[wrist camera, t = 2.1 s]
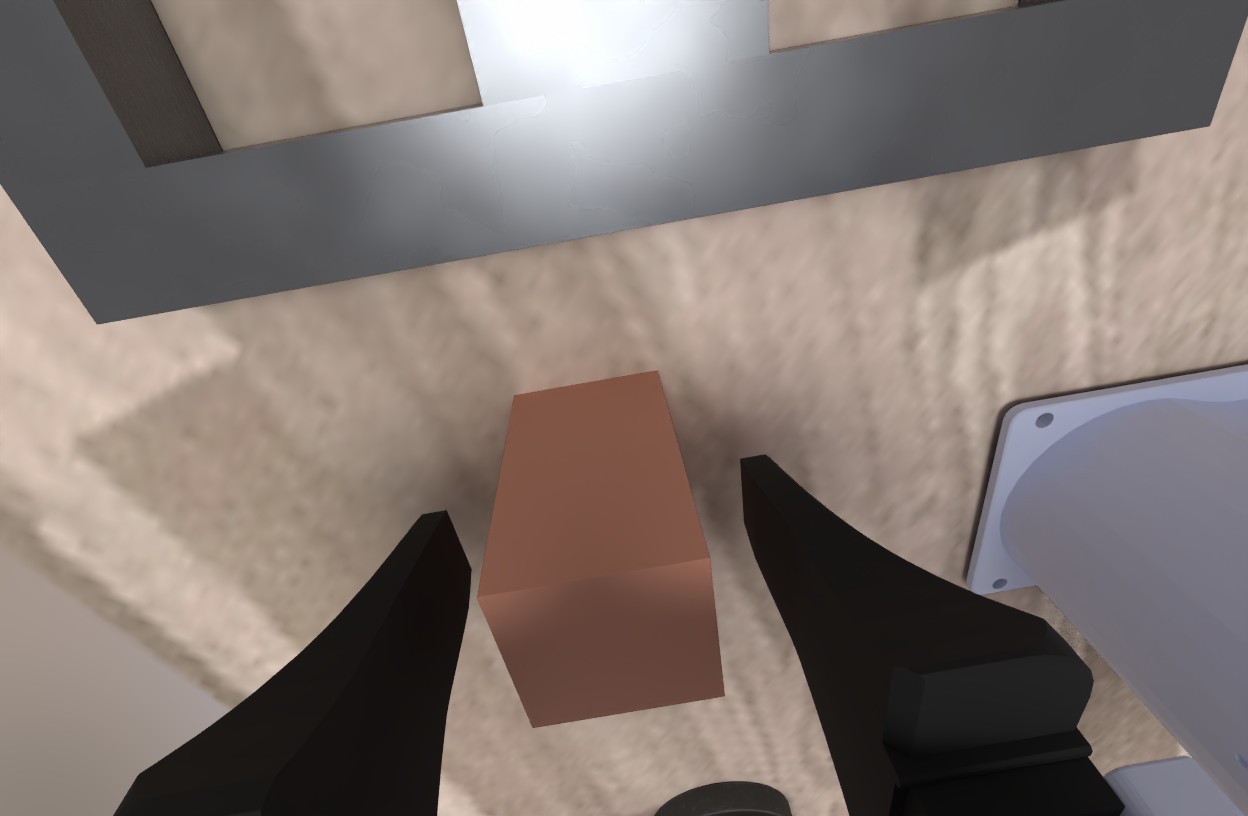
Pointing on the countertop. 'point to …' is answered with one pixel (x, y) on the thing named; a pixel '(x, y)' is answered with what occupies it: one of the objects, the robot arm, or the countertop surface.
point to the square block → (599, 557)
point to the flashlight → (728, 801)
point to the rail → (556, 132)
